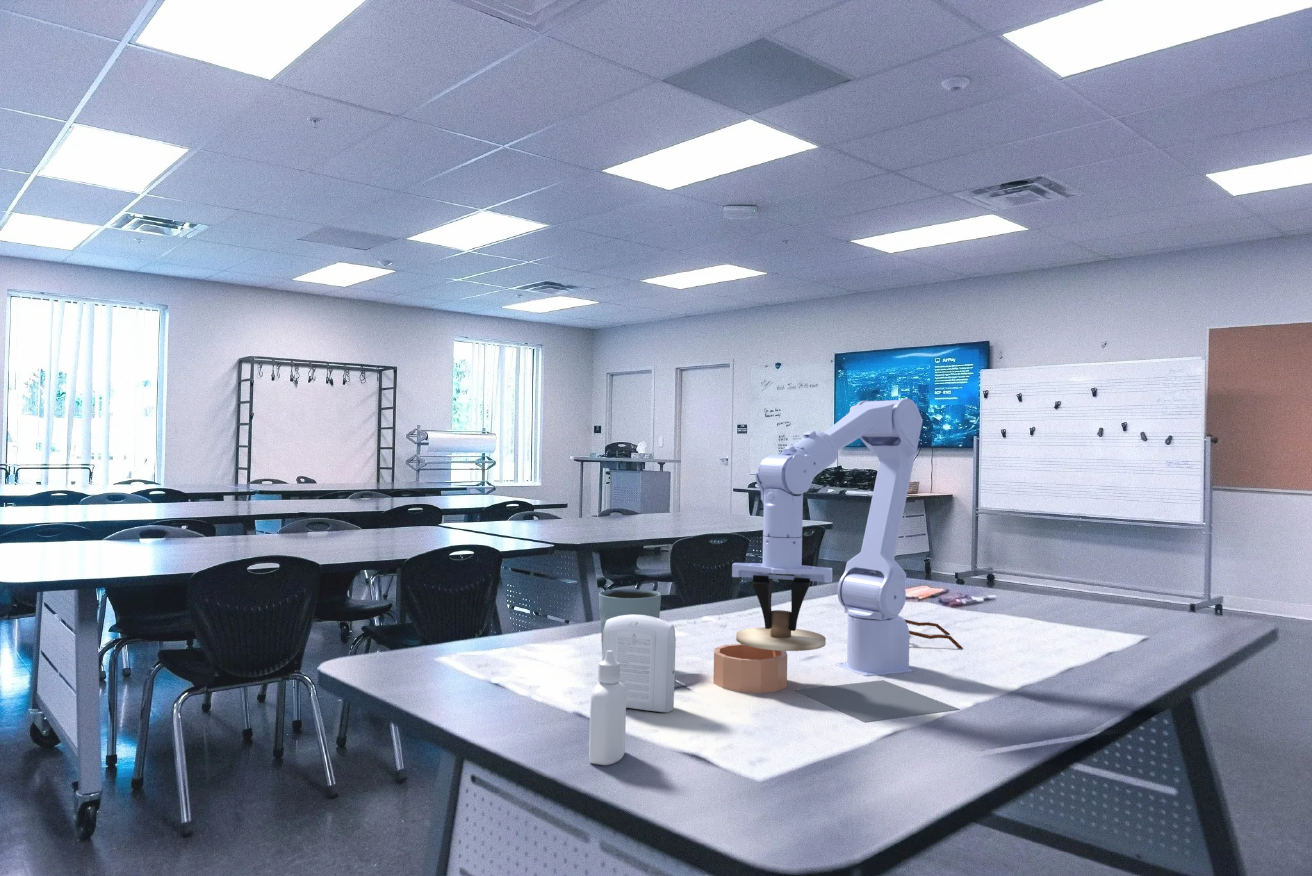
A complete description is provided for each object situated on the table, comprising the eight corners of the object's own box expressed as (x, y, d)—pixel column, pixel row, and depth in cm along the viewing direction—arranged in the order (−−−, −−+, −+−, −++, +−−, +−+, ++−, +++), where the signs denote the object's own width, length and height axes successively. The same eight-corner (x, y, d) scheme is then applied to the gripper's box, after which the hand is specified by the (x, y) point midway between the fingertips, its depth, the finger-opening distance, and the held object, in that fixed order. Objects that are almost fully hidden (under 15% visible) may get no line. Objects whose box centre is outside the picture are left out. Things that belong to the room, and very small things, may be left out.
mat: (883, 683, 133) (883, 680, 133) (960, 712, 118) (960, 709, 118) (794, 693, 126) (794, 689, 126) (864, 725, 111) (864, 721, 111)
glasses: (881, 633, 173) (882, 608, 173) (949, 636, 171) (949, 611, 171) (890, 647, 160) (890, 620, 160) (963, 651, 158) (964, 623, 158)
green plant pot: (623, 679, 132) (625, 600, 132) (583, 666, 139) (585, 591, 140) (673, 669, 138) (674, 594, 139) (632, 657, 146) (633, 586, 146)
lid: (791, 630, 136) (791, 602, 137) (844, 647, 125) (844, 616, 125) (719, 635, 131) (720, 607, 131) (768, 653, 119) (768, 622, 119)
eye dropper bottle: (575, 757, 98) (578, 650, 98) (614, 747, 101) (617, 644, 101) (599, 769, 94) (601, 658, 95) (638, 758, 98) (641, 651, 98)
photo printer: (678, 706, 118) (680, 615, 119) (669, 715, 114) (671, 621, 114) (607, 698, 121) (609, 609, 122) (596, 707, 117) (598, 615, 118)
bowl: (761, 673, 137) (762, 641, 137) (800, 691, 127) (801, 657, 127) (701, 679, 132) (701, 646, 132) (736, 698, 123) (737, 663, 123)
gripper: (729, 536, 126) (727, 630, 126) (830, 541, 122) (829, 637, 122) (737, 532, 133) (735, 621, 133) (833, 536, 129) (832, 628, 129)
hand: (780, 628), depth 128 cm, fingers closed on lid, 3 cm apart
